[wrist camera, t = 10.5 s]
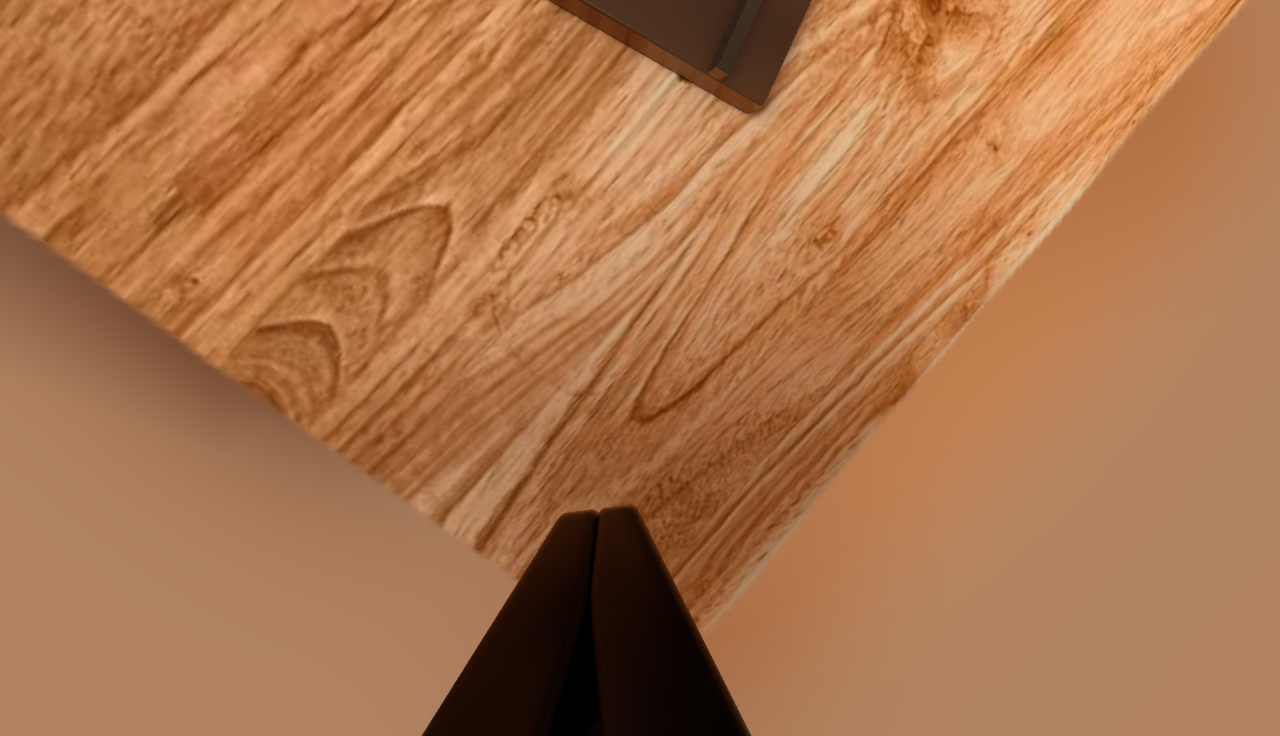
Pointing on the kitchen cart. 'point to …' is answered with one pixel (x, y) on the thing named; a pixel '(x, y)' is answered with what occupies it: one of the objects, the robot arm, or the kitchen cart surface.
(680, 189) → the kitchen cart surface
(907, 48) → the kitchen cart surface
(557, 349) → the kitchen cart surface
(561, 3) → the cabinet
